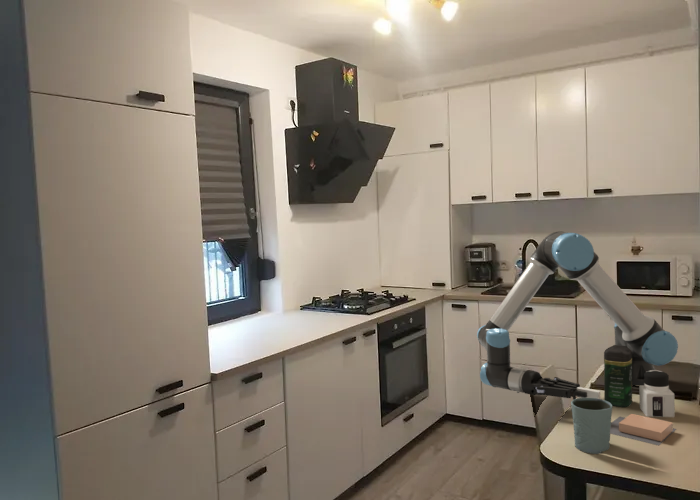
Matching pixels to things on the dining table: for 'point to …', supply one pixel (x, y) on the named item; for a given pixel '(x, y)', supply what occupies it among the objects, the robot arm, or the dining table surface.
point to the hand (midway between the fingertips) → (599, 396)
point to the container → (656, 395)
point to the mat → (615, 431)
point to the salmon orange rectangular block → (646, 427)
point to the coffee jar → (618, 376)
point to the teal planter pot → (591, 424)
